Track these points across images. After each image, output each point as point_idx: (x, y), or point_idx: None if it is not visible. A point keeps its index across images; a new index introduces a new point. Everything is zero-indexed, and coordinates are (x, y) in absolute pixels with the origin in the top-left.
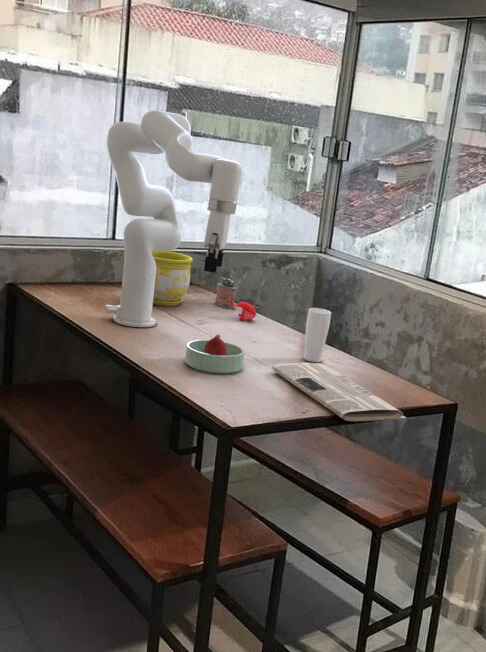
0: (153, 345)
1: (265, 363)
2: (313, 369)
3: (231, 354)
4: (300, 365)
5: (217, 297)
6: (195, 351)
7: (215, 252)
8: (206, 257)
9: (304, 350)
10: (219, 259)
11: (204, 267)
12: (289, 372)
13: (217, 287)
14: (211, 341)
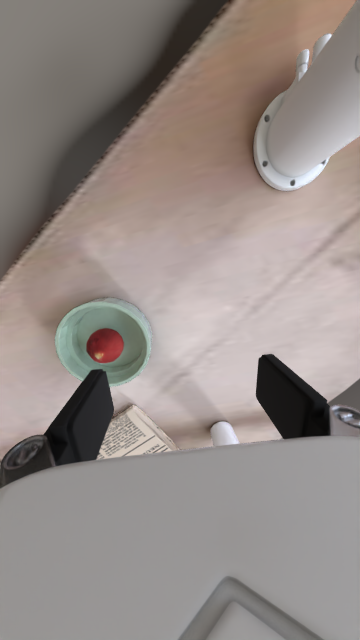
0: (158, 228)
1: (170, 388)
2: (136, 453)
3: (138, 358)
4: (145, 438)
5: None
6: (58, 325)
7: (301, 419)
8: (54, 425)
9: (222, 430)
10: (274, 412)
11: (86, 377)
12: (109, 432)
13: None
14: (90, 345)
